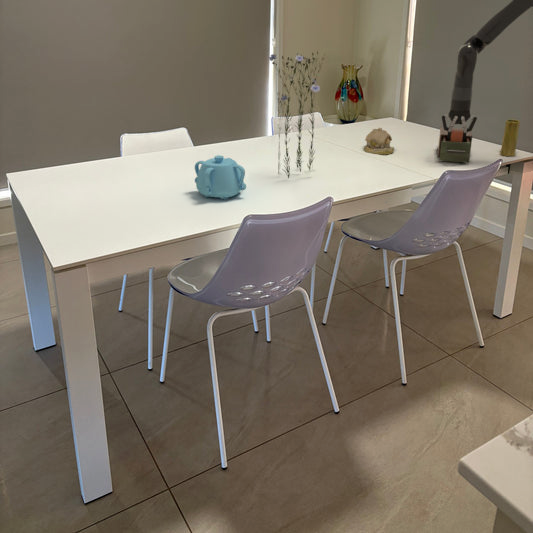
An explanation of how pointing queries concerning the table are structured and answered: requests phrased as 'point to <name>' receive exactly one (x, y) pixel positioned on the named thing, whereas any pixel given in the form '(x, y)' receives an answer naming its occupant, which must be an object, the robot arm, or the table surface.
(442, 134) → the cabinet
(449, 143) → the drawer
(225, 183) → the decorative pot
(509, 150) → the vase
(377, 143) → the ceramic model
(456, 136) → the block
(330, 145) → the table surface
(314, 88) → the wildflower
